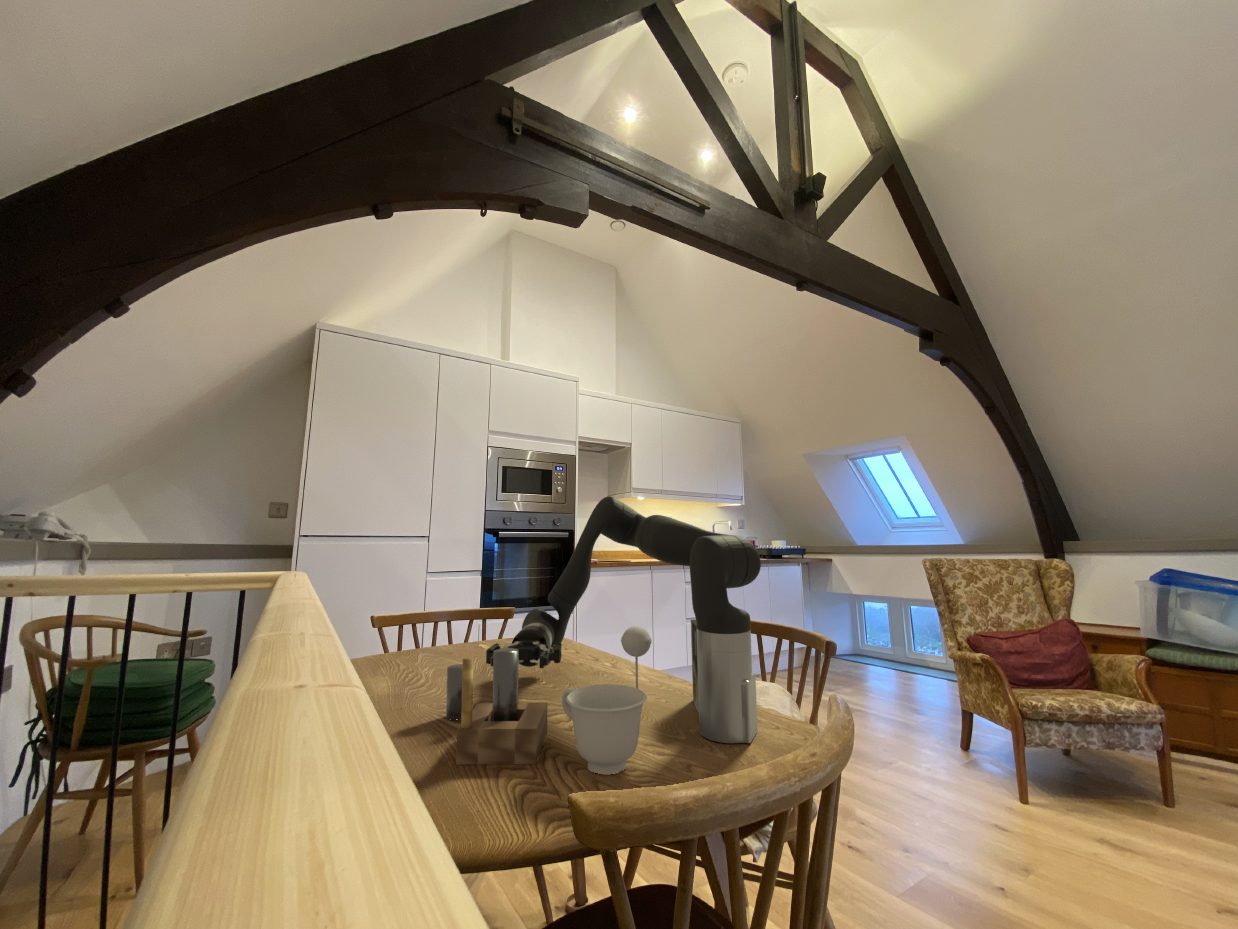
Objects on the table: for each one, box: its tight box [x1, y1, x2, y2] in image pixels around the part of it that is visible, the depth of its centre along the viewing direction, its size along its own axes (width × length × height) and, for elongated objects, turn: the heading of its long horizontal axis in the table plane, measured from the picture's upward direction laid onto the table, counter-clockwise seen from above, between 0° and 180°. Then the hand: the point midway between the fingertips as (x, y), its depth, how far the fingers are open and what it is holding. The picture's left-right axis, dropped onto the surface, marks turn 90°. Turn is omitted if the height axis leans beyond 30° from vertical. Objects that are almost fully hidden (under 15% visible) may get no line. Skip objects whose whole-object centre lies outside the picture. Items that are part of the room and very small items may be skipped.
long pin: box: [492, 647, 519, 721], centre depth 87 cm, size 4×4×15 cm
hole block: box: [455, 657, 548, 765], centre depth 87 cm, size 12×12×15 cm
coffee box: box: [690, 619, 699, 715], centre depth 105 cm, size 9×6×16 cm
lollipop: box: [620, 625, 653, 689], centre depth 107 cm, size 6×6×15 cm
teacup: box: [561, 683, 648, 775], centre depth 80 cm, size 12×15×10 cm
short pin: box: [445, 663, 463, 721], centre depth 101 cm, size 4×4×9 cm
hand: (518, 662), depth 98 cm, fingers open, 8 cm apart
